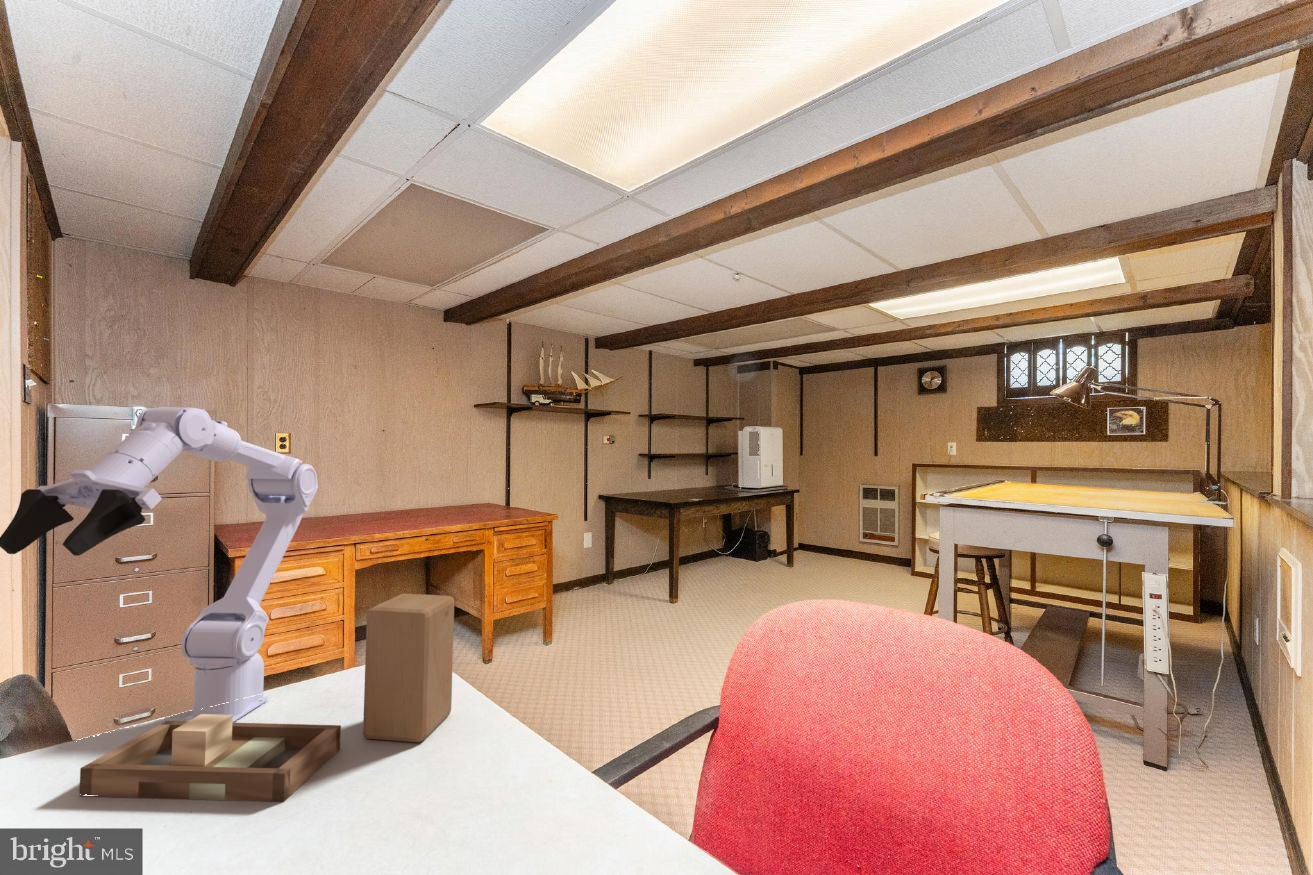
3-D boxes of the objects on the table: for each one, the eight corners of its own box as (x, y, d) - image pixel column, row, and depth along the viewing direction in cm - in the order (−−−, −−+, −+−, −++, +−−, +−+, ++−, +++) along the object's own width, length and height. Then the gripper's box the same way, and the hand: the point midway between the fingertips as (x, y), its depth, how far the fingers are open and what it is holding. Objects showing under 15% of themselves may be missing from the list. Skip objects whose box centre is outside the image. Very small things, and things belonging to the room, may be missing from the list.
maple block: (199, 746, 77) (201, 714, 77) (231, 747, 77) (232, 714, 77) (171, 764, 73) (172, 730, 73) (204, 765, 73) (206, 731, 73)
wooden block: (453, 713, 92) (456, 594, 93) (422, 745, 82) (426, 611, 83) (397, 709, 93) (400, 591, 94) (359, 740, 83) (364, 608, 84)
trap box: (165, 744, 81) (166, 720, 81) (340, 749, 81) (340, 725, 81) (79, 796, 69) (80, 768, 69) (283, 801, 69) (284, 773, 69)
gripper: (54, 445, 71) (-53, 524, 60) (164, 447, 71) (77, 527, 60) (89, 484, 75) (-4, 564, 65) (193, 486, 75) (116, 567, 65)
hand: (37, 549), depth 63 cm, fingers open, 7 cm apart
